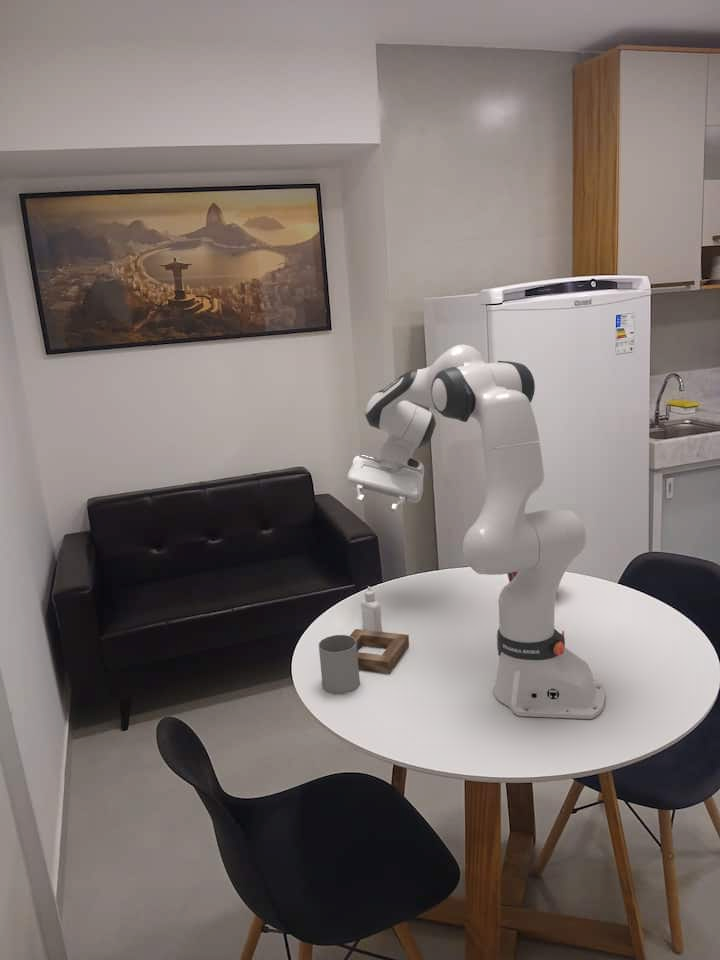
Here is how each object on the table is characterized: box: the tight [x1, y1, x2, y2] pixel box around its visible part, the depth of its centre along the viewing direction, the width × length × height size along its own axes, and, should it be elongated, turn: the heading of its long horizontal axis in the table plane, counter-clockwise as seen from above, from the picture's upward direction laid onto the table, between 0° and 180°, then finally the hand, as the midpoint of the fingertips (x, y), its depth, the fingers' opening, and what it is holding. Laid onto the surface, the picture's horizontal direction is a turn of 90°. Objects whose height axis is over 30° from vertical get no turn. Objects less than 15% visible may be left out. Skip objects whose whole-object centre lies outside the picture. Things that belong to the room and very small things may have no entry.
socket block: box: [349, 628, 410, 675], centre depth 174 cm, size 14×14×3 cm
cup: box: [318, 634, 361, 695], centre depth 161 cm, size 8×8×10 cm
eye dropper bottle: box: [360, 586, 383, 632], centre depth 186 cm, size 4×6×12 cm
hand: (376, 506), depth 188 cm, fingers open, 8 cm apart
